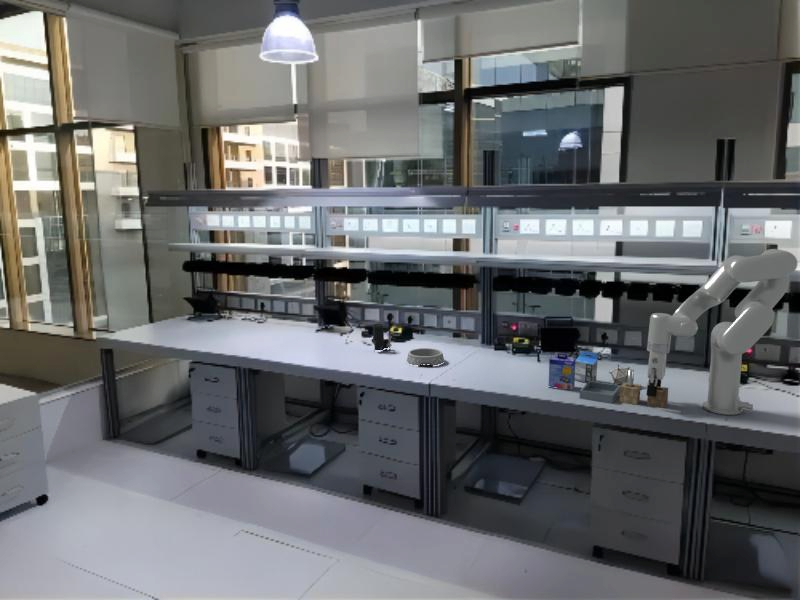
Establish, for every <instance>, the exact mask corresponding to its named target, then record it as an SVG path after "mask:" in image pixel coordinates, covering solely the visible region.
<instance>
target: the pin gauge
mask: <svg viewBox="0 0 800 600" xmlns="http://www.w3.org/2000/svg"><path fill="white" fill-rule="evenodd" d="M634 376H635V370H634V369H632V368H631V369H630V368H629V370H628V385H627V387H633V384H634V381H635V378H634Z"/></svg>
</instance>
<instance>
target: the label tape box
mask: <svg viewBox="0 0 800 600" xmlns="http://www.w3.org/2000/svg"><path fill="white" fill-rule="evenodd" d="M578 354H579V355H578V357H577V358H575V381H576V382H581V383H586V384H587V383H588V382H589V381H593V382H597V378H598V377H597V373H598V361H599V359H598V354H597V353H594V352H590V351H589V352H588V351H584V350H579V353H578Z"/></svg>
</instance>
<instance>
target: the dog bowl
mask: <svg viewBox="0 0 800 600" xmlns="http://www.w3.org/2000/svg"><path fill="white" fill-rule="evenodd" d="M406 358H407V359H406V361H407V362H408V363H409V364H412V365H418V366H419V367H420V366H428V365H427V364H431V365H430V366H432V365H438V364H441V363H443V362H444V361H445V358H444V353H443V351H442V350H440V349H437V348H429V347H424V348H415V349H411V350H409V351H408V354H407V357H406ZM420 364H422V365H420ZM423 364H425V365H423Z"/></svg>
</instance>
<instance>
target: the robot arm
mask: <svg viewBox="0 0 800 600" xmlns="http://www.w3.org/2000/svg"><path fill="white" fill-rule="evenodd" d="M797 267H798V260H797V258H796V256H795V255H794V254H793V253H792V252H789V251H787V250H783V249H779V248H771V249H767V250H765V251H763V252H762V253H761V254H760V255H751V256H743V255H738V254H737V255H735V254H734V255H731V256H729V257H727V258H726V259H725V261H723V262H722V264H721V265H720V266H719V267H718V268H717V269H716V270H715V272H713V273H712V275H710V277H709V278H708V279H707V280H706V281H705V282H704V283H703V285H702V286H701V287H699V288H698V289H697V290H696V291H694V293H692V294H691V295H690V296H688V298H686V299H685V301H683V303H681V304H680V306H679V307H678V308H677V309H676V310H675V312H674V313H673V314H669V313H665V312H664V313H663V312H655V313H652V314H651V315H650V316H649V326H648V335H647V336H648V337H647V343H646V344H647V345H646V351H647V352H649V357H648V365H647V366H648V367H647V378H648V381H647V384H646V385H647V386H646V396H647V397H648V396H652V397H656V393H657V386H658V387H662V380H663V379H664V378H665V376H666V366H667V354H669V353H670V349H671V340H672V336H675V337H680V338H691V337H693V336H694V335H696V334H697V333H698V330H699V327H698V323H697V322H696V321H697V320H698V319H699V318H700V317H701V315H703V313H704V312H706V311H707V310H709V309H711V308H713V307H716V306H718V305H720V304H721V303H723V302H725V300H726V299H727V298H728V297H729V296H730V295H731V294H732V292H733V291H734V290H736V289H737V288H738V286H739V285H740V284H741V283H754V282H756V284H755V286H754V287H753V289H751V291H749V292H748V293H747V295H746V296H745V297H744V298H743V299H742V300H741V301H740V302H739V303H738V305H736V307H735V309H734V317H735V318H736V319H735V320H734V321H733V322H731V321H722V322H719V323H717V324H715V326H713V328H712V331H711V334H710V362H709V363H710V364H709V365H710V366H709V377H708V378H709V379H708V390H707V400H706V401H702V402H703V403H702V408H703V409H704V410H706V411H708V412H710V413H714V414H720V415H726V416H727V415H728V416H735V415H736V416H737V415H741V414H742V413H743V410H744V409H746V410H753V409H754V408H753V407H754V404H753V403H750V402H748V401H742V400H740V395H739V394H740V385H741V372H742V360H743V357H742V355H743V354H745V353H746V352H748V351H749V350H750V349H751V348H752V347H753V346H754V345H755V344H756V343H757V342H758V341H759V340H760V339H761V338H762V337H763V336H764V335H765V334H766V332H767V331H769V330H770V328H771V326H772V325H773V323H774V320H775V312H774V310H773V308H774V307H775V306H776V305H777V304H778V303H779V301H780V300H781V299H782V298H783V296H784V295H785V293H786V292H787V290H788V288H789V285H790V275H792V274H793V273H794V272H795V271H796V270H797Z"/></svg>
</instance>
